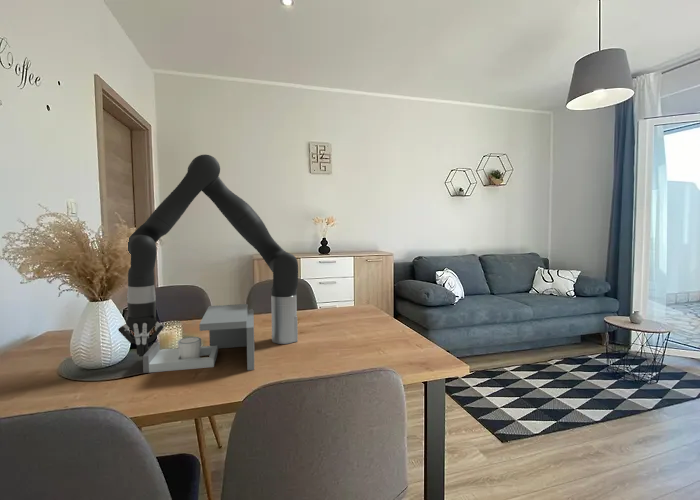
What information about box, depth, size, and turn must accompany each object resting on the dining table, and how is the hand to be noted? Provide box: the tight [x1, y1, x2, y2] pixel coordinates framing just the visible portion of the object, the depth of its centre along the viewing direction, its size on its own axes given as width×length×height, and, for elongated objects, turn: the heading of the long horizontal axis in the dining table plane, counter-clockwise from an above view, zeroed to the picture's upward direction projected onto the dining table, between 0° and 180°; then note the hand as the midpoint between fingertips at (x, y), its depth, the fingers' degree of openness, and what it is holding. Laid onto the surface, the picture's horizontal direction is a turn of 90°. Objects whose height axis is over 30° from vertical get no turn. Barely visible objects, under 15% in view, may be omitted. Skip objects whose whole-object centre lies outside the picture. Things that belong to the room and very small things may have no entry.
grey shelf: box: [199, 303, 255, 371], centre depth 121 cm, size 15×24×15 cm, turn 14°
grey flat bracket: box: [142, 341, 219, 374], centre depth 118 cm, size 20×13×5 cm, turn 104°
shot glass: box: [177, 336, 202, 359], centre depth 118 cm, size 7×7×7 cm
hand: (142, 355), depth 115 cm, fingers closed
